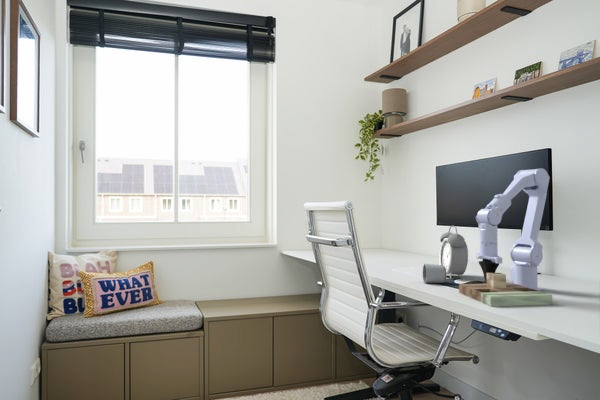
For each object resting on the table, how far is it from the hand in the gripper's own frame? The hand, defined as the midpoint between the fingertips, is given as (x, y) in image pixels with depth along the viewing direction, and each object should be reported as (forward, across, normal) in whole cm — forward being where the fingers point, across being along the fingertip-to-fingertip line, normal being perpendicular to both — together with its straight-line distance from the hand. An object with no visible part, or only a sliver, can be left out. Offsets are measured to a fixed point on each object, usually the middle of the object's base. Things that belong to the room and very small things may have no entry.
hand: (489, 281), depth 162 cm
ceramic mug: (+4, -24, -11) cm, 27 cm away
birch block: (+1, +5, 0) cm, 5 cm away
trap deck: (+4, +9, 0) cm, 10 cm away
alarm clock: (+4, -36, +3) cm, 36 cm away
